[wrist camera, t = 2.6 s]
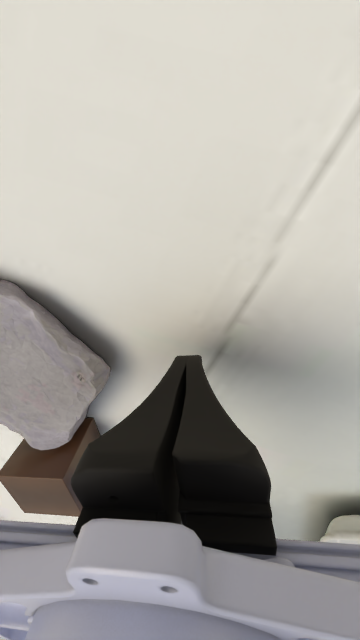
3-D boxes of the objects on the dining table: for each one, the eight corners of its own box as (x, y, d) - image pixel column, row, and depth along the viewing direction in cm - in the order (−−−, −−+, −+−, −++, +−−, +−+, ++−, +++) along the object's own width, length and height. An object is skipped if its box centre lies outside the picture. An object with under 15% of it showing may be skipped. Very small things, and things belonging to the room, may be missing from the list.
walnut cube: (107, 454, 23) (83, 517, 18) (58, 452, 23) (24, 513, 19) (93, 417, 20) (62, 479, 16) (40, 416, 21) (-5, 475, 17)
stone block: (-20, 246, 16) (-63, 360, 18) (-95, 251, 11) (-138, 400, 14) (136, 334, 18) (80, 423, 21) (126, 365, 14) (55, 474, 16)
